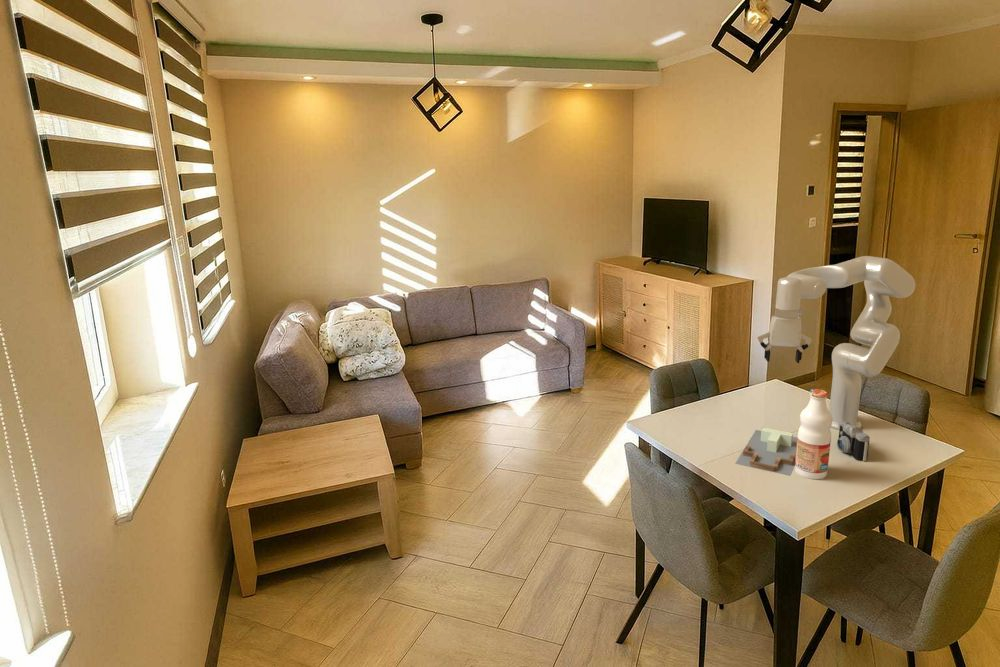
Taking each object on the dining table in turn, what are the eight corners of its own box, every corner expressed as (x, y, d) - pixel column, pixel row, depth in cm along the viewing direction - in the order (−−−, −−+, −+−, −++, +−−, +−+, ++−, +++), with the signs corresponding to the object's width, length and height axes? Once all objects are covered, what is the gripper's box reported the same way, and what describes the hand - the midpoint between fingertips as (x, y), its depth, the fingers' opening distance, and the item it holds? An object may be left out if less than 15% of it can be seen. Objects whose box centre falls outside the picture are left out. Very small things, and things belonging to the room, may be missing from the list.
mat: (755, 430, 228) (755, 429, 228) (805, 439, 219) (805, 439, 219) (735, 464, 204) (735, 463, 203) (790, 476, 194) (790, 475, 194)
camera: (827, 442, 216) (830, 416, 213) (846, 442, 216) (849, 416, 213) (848, 462, 202) (852, 434, 199) (869, 461, 201) (873, 434, 199)
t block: (762, 437, 221) (763, 427, 220) (792, 443, 216) (793, 433, 215) (756, 448, 213) (756, 437, 212) (787, 454, 208) (787, 444, 207)
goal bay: (747, 448, 214) (747, 444, 213) (794, 458, 205) (795, 454, 205) (737, 463, 203) (738, 459, 203) (787, 474, 195) (788, 470, 194)
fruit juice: (793, 464, 202) (800, 385, 194) (825, 468, 198) (833, 387, 191) (795, 477, 193) (803, 395, 186) (828, 482, 190) (837, 398, 182)
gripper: (811, 312, 209) (806, 359, 214) (758, 310, 214) (754, 357, 218) (817, 317, 202) (811, 365, 207) (761, 315, 207) (757, 363, 211)
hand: (782, 361), depth 212 cm, fingers open, 9 cm apart
